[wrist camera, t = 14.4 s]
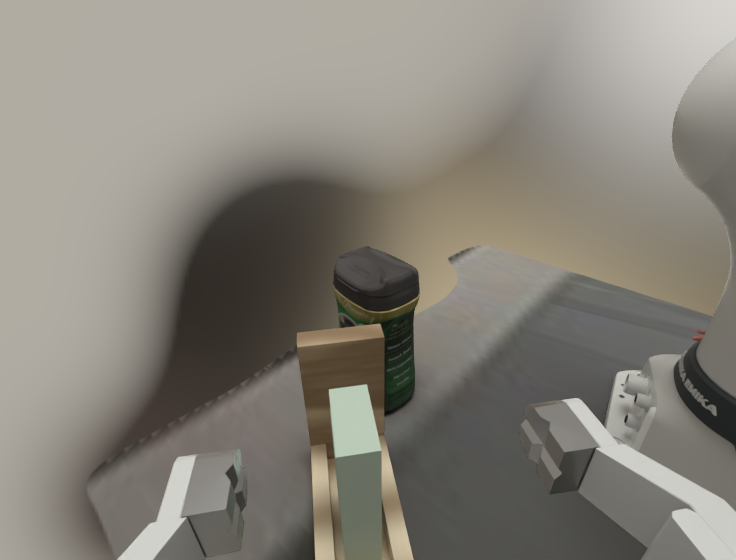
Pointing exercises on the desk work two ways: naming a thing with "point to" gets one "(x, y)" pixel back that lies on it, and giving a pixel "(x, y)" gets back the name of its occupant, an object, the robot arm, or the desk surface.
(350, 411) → the mint green rectangular block
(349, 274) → the coffee jar
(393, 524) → the track
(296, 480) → the desk surface
